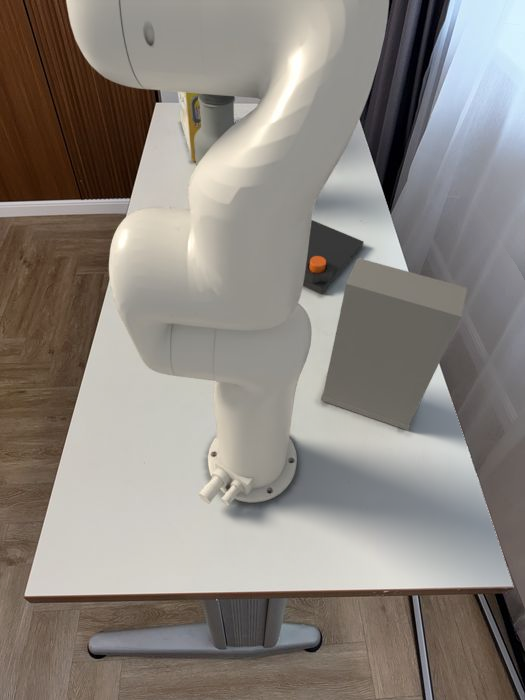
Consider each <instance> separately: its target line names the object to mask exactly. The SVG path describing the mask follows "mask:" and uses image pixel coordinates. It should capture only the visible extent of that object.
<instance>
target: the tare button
mask: <svg viewBox="0 0 525 700" xmlns="http://www.w3.org/2000/svg"><path fill="white" fill-rule="evenodd" d="M325 267H326V260H325V259H324V258H323V257H321V256H314V257H312V258H311V259H310V265H309V269H310V270H311V271H312V272H314V273H322V272H324V271H325Z"/></svg>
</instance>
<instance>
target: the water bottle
mask: <svg viewBox="0 0 525 700" xmlns="http://www.w3.org/2000/svg"><path fill="white" fill-rule="evenodd" d="M197 100H198V101H199V103H200V115H201V118H199V119H197V118H196V117H195V103H196V101H197ZM235 101H236V96H223V95H211V94H199V93H198V95H197V96H194V97H193V98H192V99H191V101H190V106H191V118H192V120H193V121H194V122H195V123H200V122H201V128H200V129H199V130H198V131H197V133H196V134H195V138H194V144H195V157H196V161H195V167H196V166H197V165H198V163H199V162H200V160H201V159H202V158H203V157H204V155H205V154H206V153H207V151H208V150H209V149H210V148H211V146H212V145H213V144H214V143H215V142H216V141H217V140H218V139H219V138H220V137H221V136H222V135H223V134H224V133H225V132H226V131H227V130H228V129H229V128H230V127H232V126H233V125H234V124H235V113H234V112H235V104H234V103H235Z"/></svg>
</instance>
